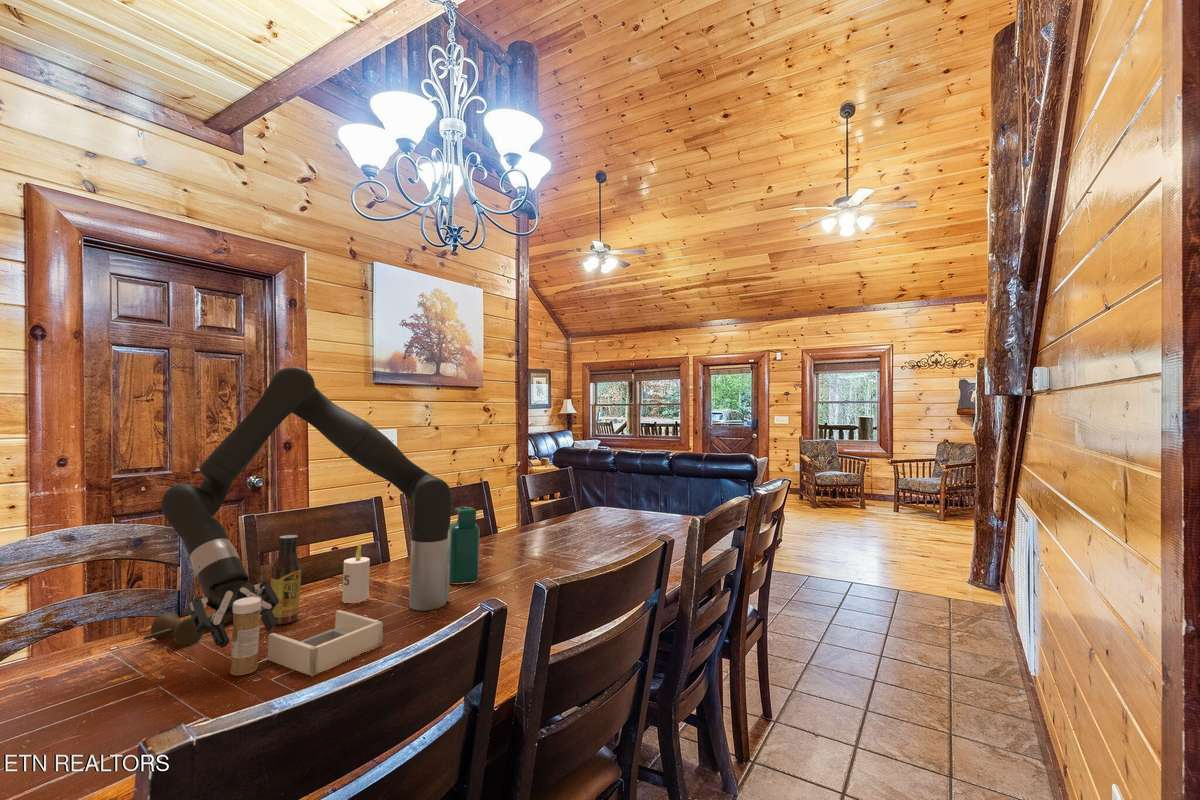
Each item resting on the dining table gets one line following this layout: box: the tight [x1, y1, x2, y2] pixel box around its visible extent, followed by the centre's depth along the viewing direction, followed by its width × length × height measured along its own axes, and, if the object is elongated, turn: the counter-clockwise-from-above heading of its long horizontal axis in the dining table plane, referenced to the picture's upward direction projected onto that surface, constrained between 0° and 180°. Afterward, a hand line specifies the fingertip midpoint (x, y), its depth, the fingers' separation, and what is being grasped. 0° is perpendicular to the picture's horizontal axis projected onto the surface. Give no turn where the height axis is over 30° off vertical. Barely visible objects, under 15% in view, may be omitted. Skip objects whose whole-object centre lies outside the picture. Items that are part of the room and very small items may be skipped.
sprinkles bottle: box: [229, 597, 261, 677], centre depth 103 cm, size 5×5×13 cm
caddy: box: [267, 609, 384, 677], centre depth 112 cm, size 16×14×5 cm
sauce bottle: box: [270, 534, 302, 626], centre depth 128 cm, size 6×6×20 cm
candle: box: [342, 542, 371, 604], centre depth 143 cm, size 6×6×15 cm
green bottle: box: [447, 506, 481, 584], centre depth 161 cm, size 10×8×22 cm
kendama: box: [142, 609, 234, 647], centre depth 119 cm, size 6×10×20 cm
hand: (249, 637), depth 103 cm, fingers open, 8 cm apart
